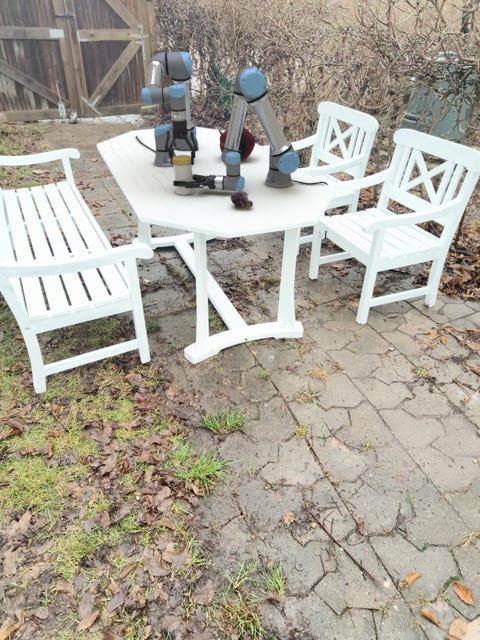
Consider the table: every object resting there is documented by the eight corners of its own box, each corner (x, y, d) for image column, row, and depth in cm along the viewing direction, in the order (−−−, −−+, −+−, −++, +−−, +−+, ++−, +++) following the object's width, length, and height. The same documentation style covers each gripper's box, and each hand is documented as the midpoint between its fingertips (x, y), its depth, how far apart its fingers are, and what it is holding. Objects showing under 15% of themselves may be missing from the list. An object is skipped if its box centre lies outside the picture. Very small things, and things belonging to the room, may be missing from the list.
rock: (244, 204, 234) (227, 207, 230) (243, 188, 230) (225, 190, 226) (255, 208, 224) (237, 211, 220) (254, 190, 221) (236, 193, 216)
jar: (197, 192, 247) (194, 159, 237) (180, 195, 243) (177, 162, 233) (189, 187, 254) (186, 155, 244) (173, 190, 250) (169, 158, 240)
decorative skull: (216, 132, 305) (216, 129, 282) (250, 124, 304) (252, 121, 281) (223, 164, 312) (223, 164, 288) (256, 157, 311) (259, 156, 288)
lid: (187, 158, 245) (186, 153, 244) (196, 162, 238) (196, 158, 237) (169, 161, 241) (168, 156, 239) (177, 165, 233) (177, 161, 232)
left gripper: (155, 120, 226) (159, 165, 238) (199, 121, 223) (202, 166, 235) (159, 117, 232) (164, 161, 245) (203, 118, 229) (205, 163, 241)
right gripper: (211, 196, 235) (170, 193, 239) (221, 182, 253) (183, 180, 257) (210, 182, 231) (169, 179, 234) (220, 169, 249) (182, 167, 253)
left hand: (182, 164), depth 240 cm, fingers closed on lid, 10 cm apart
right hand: (176, 180), depth 246 cm, fingers closed on jar, 10 cm apart
